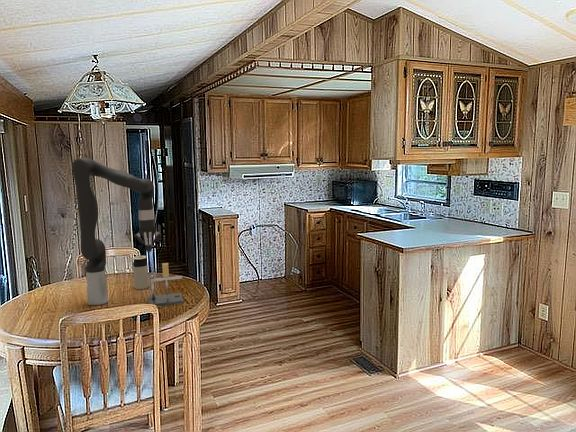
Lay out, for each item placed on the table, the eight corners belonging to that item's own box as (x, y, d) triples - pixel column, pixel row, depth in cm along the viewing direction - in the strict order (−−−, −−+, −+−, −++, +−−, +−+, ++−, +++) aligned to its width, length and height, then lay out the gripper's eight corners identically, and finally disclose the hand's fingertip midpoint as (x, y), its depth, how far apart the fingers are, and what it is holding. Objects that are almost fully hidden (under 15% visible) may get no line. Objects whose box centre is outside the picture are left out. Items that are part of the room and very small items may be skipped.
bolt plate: (148, 307, 224) (146, 279, 222) (149, 298, 238) (147, 272, 236) (183, 303, 229) (182, 276, 227) (182, 295, 242) (181, 269, 240)
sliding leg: (164, 298, 231) (162, 265, 228) (164, 296, 235) (162, 263, 232) (170, 297, 232) (168, 264, 229) (170, 295, 236) (168, 262, 233)
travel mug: (141, 290, 253) (138, 259, 250) (131, 288, 257) (129, 257, 255) (152, 286, 260) (149, 256, 257) (142, 284, 264) (140, 254, 261)
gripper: (132, 220, 220) (135, 254, 222) (160, 218, 223) (162, 252, 226) (133, 218, 227) (135, 251, 229) (160, 216, 230) (162, 249, 233)
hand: (149, 251), depth 228 cm, fingers closed
